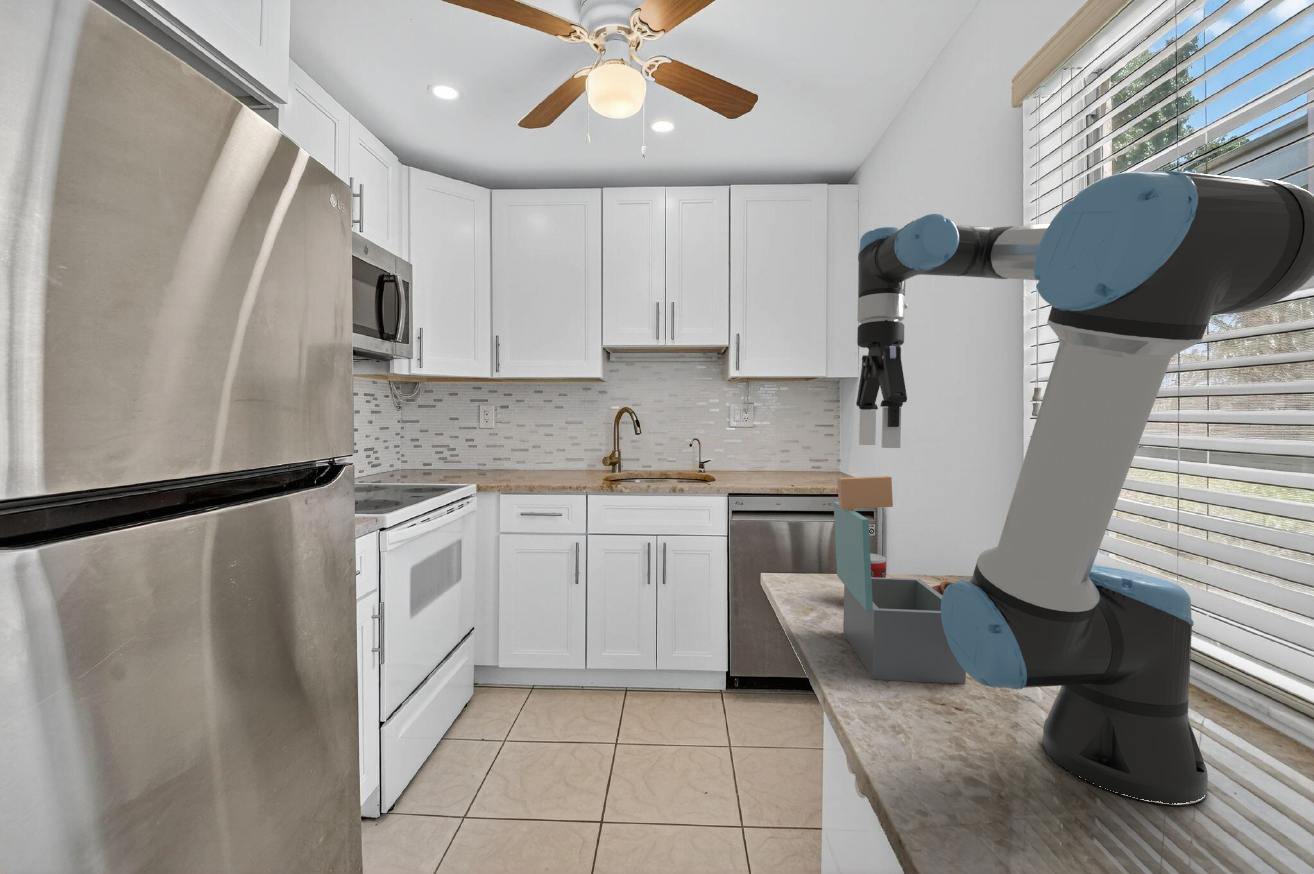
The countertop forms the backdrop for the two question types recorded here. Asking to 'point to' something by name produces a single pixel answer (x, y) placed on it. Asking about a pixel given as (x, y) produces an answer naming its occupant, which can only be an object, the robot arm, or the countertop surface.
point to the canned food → (878, 566)
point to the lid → (858, 531)
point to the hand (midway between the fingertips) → (878, 446)
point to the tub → (901, 633)
